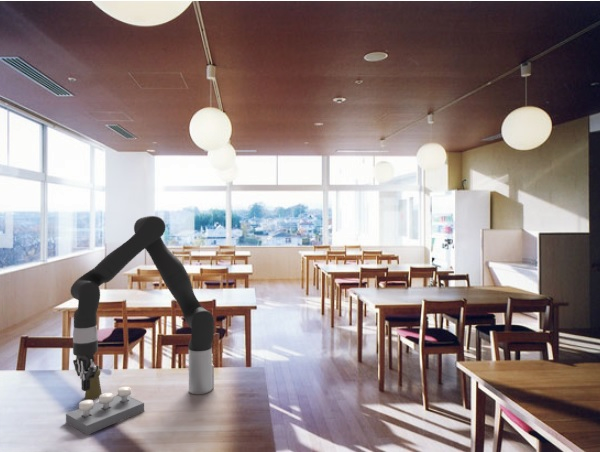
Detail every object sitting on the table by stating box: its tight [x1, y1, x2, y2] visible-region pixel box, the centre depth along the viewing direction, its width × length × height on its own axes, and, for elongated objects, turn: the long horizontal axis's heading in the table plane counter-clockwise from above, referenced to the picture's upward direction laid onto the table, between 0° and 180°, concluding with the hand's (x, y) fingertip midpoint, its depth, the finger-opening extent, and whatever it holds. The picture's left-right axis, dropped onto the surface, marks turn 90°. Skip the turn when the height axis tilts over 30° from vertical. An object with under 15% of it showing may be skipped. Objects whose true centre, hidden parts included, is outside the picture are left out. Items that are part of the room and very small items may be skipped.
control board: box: [65, 394, 145, 436], centre depth 152 cm, size 21×14×3 cm, turn 144°
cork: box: [84, 368, 103, 400], centre depth 169 cm, size 6×6×11 cm
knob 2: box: [117, 386, 132, 403], centre depth 158 cm, size 4×4×5 cm
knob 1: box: [78, 399, 94, 418], centre depth 146 cm, size 4×4×5 cm
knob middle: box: [98, 392, 114, 410], centre depth 152 cm, size 4×4×5 cm
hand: (85, 389), depth 146 cm, fingers closed
